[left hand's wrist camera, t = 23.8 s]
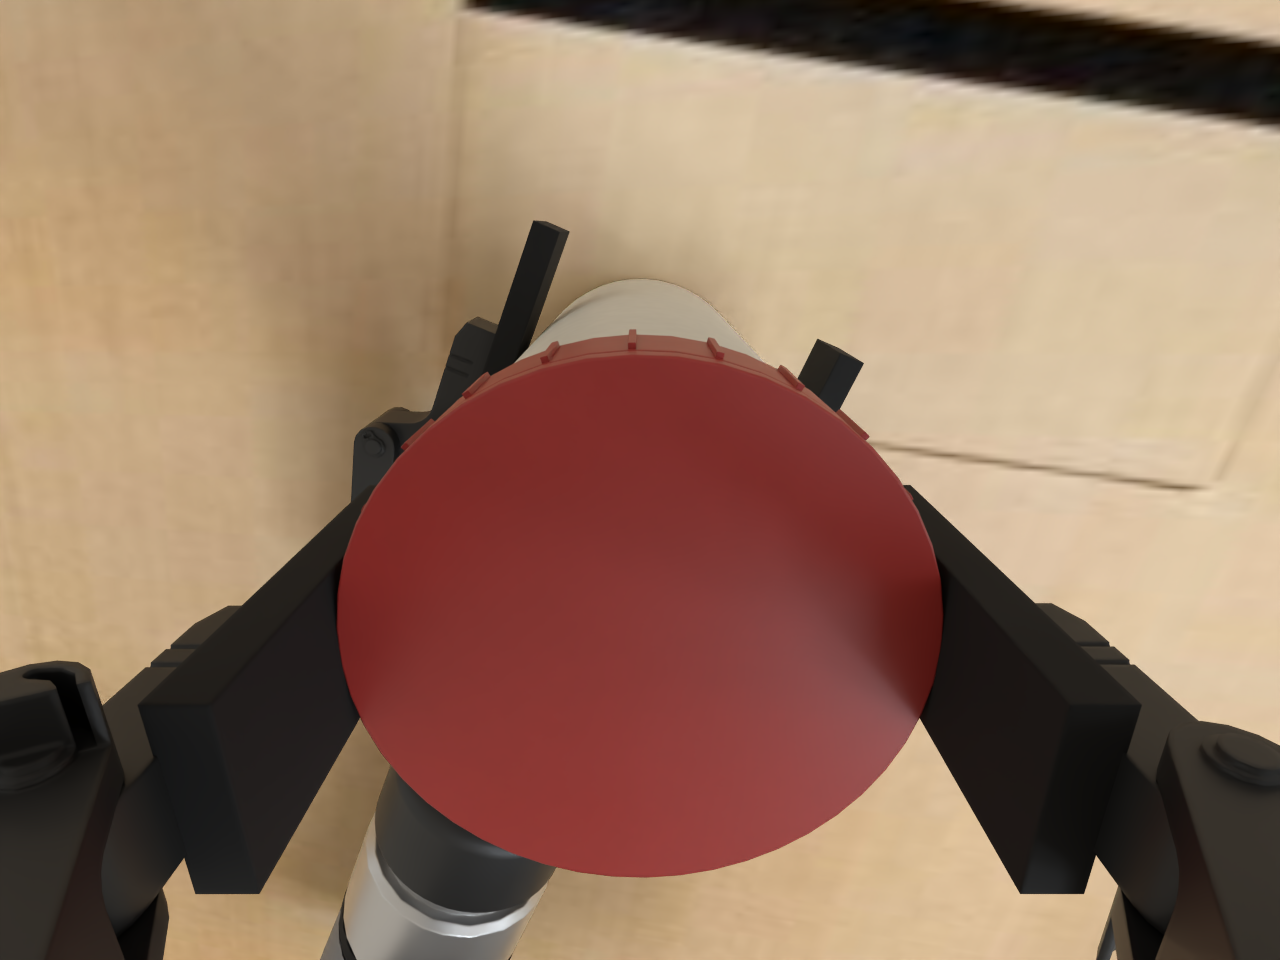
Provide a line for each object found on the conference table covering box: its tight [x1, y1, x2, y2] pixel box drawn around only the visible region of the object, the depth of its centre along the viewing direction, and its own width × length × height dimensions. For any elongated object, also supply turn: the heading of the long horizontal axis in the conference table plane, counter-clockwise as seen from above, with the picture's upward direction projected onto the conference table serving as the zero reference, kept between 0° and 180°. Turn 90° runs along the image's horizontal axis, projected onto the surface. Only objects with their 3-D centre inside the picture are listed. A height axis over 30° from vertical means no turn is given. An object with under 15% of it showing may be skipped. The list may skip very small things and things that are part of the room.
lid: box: [337, 329, 944, 877], centre depth 11 cm, size 9×9×2 cm
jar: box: [515, 279, 765, 363], centre depth 19 cm, size 8×8×17 cm
